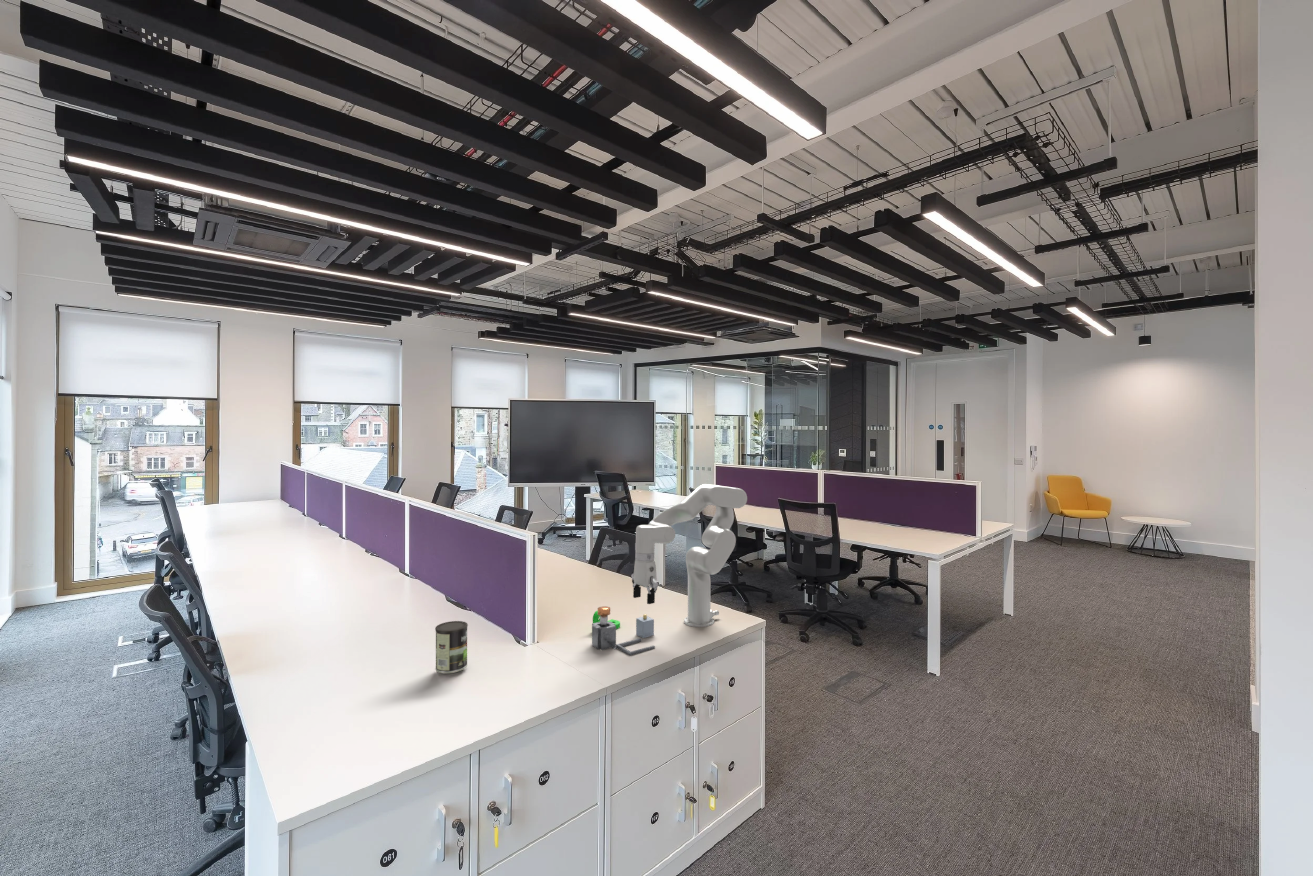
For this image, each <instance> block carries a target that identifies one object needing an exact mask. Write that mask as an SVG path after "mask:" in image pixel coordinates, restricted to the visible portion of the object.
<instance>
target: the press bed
mask: <svg viewBox="0 0 1313 876" xmlns="http://www.w3.org/2000/svg"><path fill="white" fill-rule="evenodd" d="M641 642H642V637H640V638H635V639H632V640H629V641H625V642H620V643H616V646H615V647H612V648H611V649H613V650H616V649H618V650H619V651H621V652H623V653H625V654H626V655H628V656H629V657H630V656H631V657H632V656H633V655H638V654H640V653H644V652H647V651H650V650H653V649H654V650H655V648H656V646H655V645H651V646H646V647H643V648H638V649H636V650H632V651H631V650H628V649H627V648H626V647H627V646H628V647H629V646H631V645H635V644H638V643H641Z"/></svg>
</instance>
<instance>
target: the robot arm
mask: <svg viewBox="0 0 1313 876" xmlns="http://www.w3.org/2000/svg"><path fill="white" fill-rule="evenodd" d="M747 495H748V494H747V493H746V491H745V490H743V489H742V488H738V487H731V486H724V485H718V484H709V483H703V484H699V486H697V487H696V488H695V489H694V490H693V491H692V492H690V493H689V494H688V495H687V496H686V497H684V499H683V500H681V501H680V502H679V503H678V504H675V505H672V506H671V507H669V508H667V509H665V510H663V511H661V512H660V513H659V514H657V515H656V516H655V517H654V518H653V519H652V520H651V521H649V523H648V524H640V525H637V526H636V528H635V550H634V551H635V558H634V567H633V568H634V569H633V573H632V574H631V575H630V577H631V583H632V588H633V589H632V591H633V592H632V593H633V596H632V597H633V598H634V599H637V598H641V597H642V596H641V595H642V594H641V593H642V587H643V588H646V591H647V592H648V593H647V594H646V603H647V605H652V604H653V605H654V604H655V602H656V601H655V599H656V598H655V597H656V592H657V590H658V587H659V583H658V582H657V566H656V562H655V547H656V545H655V544H661V545H662V544H663V545H666V544H670V543H671V542H673V541H674V540H675V538H676V531H675V528H673V527H672V526H674V525H676V524H680V523H684V522H689V521H691V520H694V518H696V517H697V516H698V515H699V514H700V513H701V512H702V511H703V510H704V509H706V508H707V507H708V506H714V507H715V513H714V515H713V517H712V519H711V521H710V522H709V523H708V525H707V527H706V528H705V529H704V532H703V533H702V535H701V542H702V543H701V544H702V545H704V546H705V547H702V546H692V547H690V548H689V549H688V550H687V552H686V554H685V555H686V556H685V566H686V570H687V616H685V617H684V619H683V622H684V624H685V625H686V626H689V627H691V628H692V627H693V628H705V627H710V626H712V625H713V624H715V619H714V618H713V617H715V616H719V615H720V611H719V610H714V611H713V610H712V609H711V601H712V600H711V599H712V598H711V581H712V580H711V576H712V575H716V574H718V573H719V572H720V571H721V570H722V569H723V567H724V566H725V564H726V563H727V560H728V559H729V558H730V555H731V554H732V552H733V551H734V549H735V546H736V541H737V538H736V535H735V534H734V532H733V531H732V530H730V529H731V527H732V526H733V523H734V520H735V514H734V509H742V508H743V507H745V505H746V504H747V502H748V496H747ZM706 547H707V548H706ZM710 575H711V576H710Z"/></svg>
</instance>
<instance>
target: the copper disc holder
mask: <svg viewBox="0 0 1313 876" xmlns="http://www.w3.org/2000/svg"><path fill="white" fill-rule="evenodd" d="M616 644H617V629H616V626H615V624H614V623H612V622H608V626H606V627H600V622H597V623H593V622H592V624H591V646H592V647H593V648H595V649H596V650H601V651H605V650H608V649H613V648H612V647H616Z"/></svg>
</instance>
